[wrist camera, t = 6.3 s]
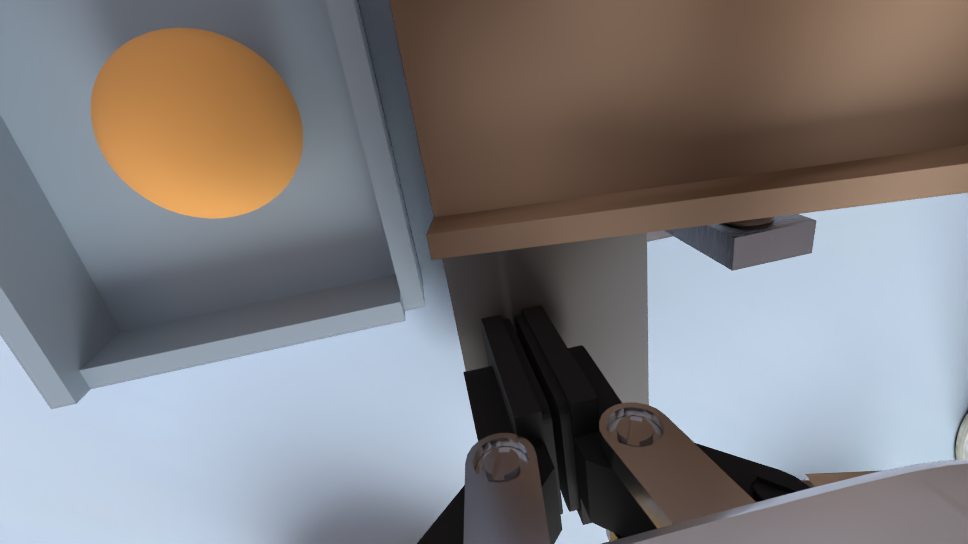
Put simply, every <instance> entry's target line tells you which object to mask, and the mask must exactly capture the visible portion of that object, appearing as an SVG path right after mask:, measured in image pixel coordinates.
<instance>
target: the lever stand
mask: <svg viewBox="0 0 968 544" xmlns="http://www.w3.org/2000/svg"><path fill="white" fill-rule="evenodd" d="M815 226H816V220H813V219H810V218H807V217H804V216H802V215H799V214H792V215H784V216H776V217H768V218H760V219H752V220H744V221H736V222H728V223H720V224H712V225H704V226H696V227H688V228H680V229H672V230H664V231H656V232H648V233H647V242H648V241H653V240H658V239H662V238H667V237H672V236H674V237H676V238H678V239H680V240H681V241H683V242H685V243H686V244H688V245H690V246H691V247H693V248H695V249H697V250H698V251H700V252H702V253H703V254H705V255H707V256H709V257H710V258H712V259H714V260H715V261H717V262H719V263H720V264H722V265H724V266H726V267H727V268H729V269H731V270H732V271H733V270H737V269H742V268H746V267H751V266H755V265H760V264H764V263H769V262H773V261H778V260H782V259H787V258H791V257H796V256H800V255H805V254H809V253H812V247H813V240H814V233H815Z"/></svg>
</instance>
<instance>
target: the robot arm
mask: <svg viewBox="0 0 968 544" xmlns="http://www.w3.org/2000/svg"><path fill="white" fill-rule="evenodd" d="M515 324H516V331H517V334H516V331H515V329H514V327H513V325H512V323H511V320H510V318H506V319H502V317H501V315H495V316H491V317H486V318H482V319H481V325H482V331H483V336H484V342H485V348H486V353H487V359H488V364H489V366H488V367H483V368H479V369H475V370H470V371H466V372H464V376H465V381H466V386H467V391H468V396H469V400H470V405H471V410H472V415H473V419H474V424H475V429H476V434H477V438H478V442H477V443H476V444H475V445H474V446H473V447H472V448H471V450H470V451H469V453H468V455H467V459H466V463H465V485H464V487H463V488H462V489H461V490H460V492H459V493H458V494H457V495H456V496H455V498H454V499H453V500H452V501H451V503H450V504H449V505H448V506H447V507H446V509H445V510H444V511H443V512H442V514H441V515H440V516H439V517H438V519H437V520H436V521H435V522H434V523H433V525H432V526H431V527H430V528H429V530H428V531H427V532H426V533H425V534H424V536H423V537H422V538H421V539H420V541H419V542H418V543H417V544H554V543H555V541H556V539H557V538H558V536H559V534H560V532H561V531H562V524H561V516H560V514H563V509H562V500H561V492H562V495H563V498H564V500H565V503H566V505H567V508H568V510H569V511H570V512H571V511H574V510H577V511H578V514H579V516H580V518H581V521H582V523H583V525H585V524H589V523H594V524H597V525H599V526H601V527H603V528H605V529H606V535H607V537H608V539H609V542H606V543H602V544H968V460H949V461H939V462H931V463H923V464H915V465H910V466H905V467H900V468H895V469H890V470H885V471H865V472H843V473H821V474H806V475H805V480H802V481H801V480H799V479H798V478H796V477H795V476H793V475H790V474H788V473H786V472H783V471H781V470H778V469H775V468H772V467H768V466H765V465H762V464H759V463H756V462H753V461H750V460H746V459H743V458H740V457H737V456H734V455H731V454H728V453H725V452H721V451H718V450H715V449H712V448H709V447H706V446H703V445H699V444H696V443H694V442H693V441H692V440H691V439H690V438H689V437H688V436H686V435H685V434H684V433H683V432H682V431H681V430H680V429H679V428H678V427H677V426H676V425H675V424H674V423H673V422H672V421H671V420H670V419H669V418H668V417H667V416H666V415H664V414H663V413H662V412H660V411H659V410H658V409H656V408H654V407H651V406H649V405H647V404H641V403H636V402H630V403H622V402H621V400H620V399H619V397H618V396H617V394H616V393H615V391H614V390H613V388H612V387H611V386H610V384H609V383H608V381H607V380H606V378H605V377H604V375H603V374H602V372H601V371H600V369H599V368H598V366H597V365H596V363H595V362H594V360H593V359H592V357H591V356H590V354H589V353H588V352H587V350H586V349H585V348H584V346H582V345H580V346H575V347H571V348H567V346H566V344H565V343H564V341H563V340H562V338H561V336H560V335H559V333H558V331H557V330H556V328H555V327H554V325H553V323H552V322H551V320H550V318H549V317H548V315H547V313H546V312H545V310H544V309H543V307H542V306H536V307H532V308H527V309H523V310H521V315H520V316H515ZM560 490H561V492H560Z"/></svg>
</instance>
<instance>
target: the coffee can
mask: <svg viewBox="0 0 968 544" xmlns="http://www.w3.org/2000/svg"><path fill="white" fill-rule="evenodd" d="M955 452H956V460H968V413H967V415H966V416H965V418H964V420H963V422H962V424H961V426H960V429H959V432H958V436H957V441H956V451H955Z"/></svg>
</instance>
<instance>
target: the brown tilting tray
mask: <svg viewBox="0 0 968 544" xmlns="http://www.w3.org/2000/svg"><path fill="white" fill-rule="evenodd" d="M389 2H390V7H391V12H392V17H393V22H394V26H395V31H396V36H397V41H398V46H399V51H400V55H401V60H402V65H403V70H404V75H405V79H406V84H407V89H408V94H409V99H410V104H411V108H412V113H413V118H414V123H415V128H416V133H417V137H418V142H419V147H420V152H421V157H422V161H423V166H424V171H425V176H426V181H427V186H428V190H429V195H430V200H431V205H432V210H433V215H434V219H433V221H432V223H431V225H430V227H429V230H428V232H427V234H426V236H427V241H428V245H429V250H430V254H431V259H432V260H433V259H441V258H443V263H444V268H445V272H446V277H447V282H448V287H449V292H450V297H451V301H452V306H453V311H454V316H455V321H456V325H457V330H458V335H459V340H460V345H461V350H462V354H463V359H464V364H465V369H466V371H470V370H475V369H479V368H483V367H488V366H489V364H488V359H487V353H486V348H485V342H484V336H483V331H482V325H481V319H482V318H486V317H491V316H495V315H501V317H502V319H506V318H510V320H511V323H512V325H513V327H514V329H515V331H516V324H515V316H520V315H521V310H523V309H527V308H532V307H536V306H542V307H543V309H544V310H545V312H546V313H547V315H548V317H549V318H550V320H551V322H552V323H553V325H554V327H555V328H556V330H557V331H558V333H559V335H560V336H561V338H562V340H563V341H564V343H565V344H566V346H567V348H571V347H575V346H580V345H582V346H584V348H585V349H586V350H587V352H588V353H589V354H590V356H591V357H592V359H593V360H594V362H595V363H596V365H597V366H598V368H599V369H600V371H601V372H602V374H603V375H604V377H605V378H606V380H607V381H608V383H609V384H610V386H611V387H612V388H613V390H614V391H615V393H616V394H617V396H618V397H619V399H620V400H621V402H622V403H630V402H636V403H641V404H647V405H649V399H648V308H647V233H648V232H656V231H664V230H672V229H680V228H688V227H696V226H704V225H712V224H720V223H728V222H736V221H744V220H752V219H760V218H768V217H776V216H784V215H792V214H800V213H808V212H816V211H824V210H832V209H840V208H848V207H856V206H864V205H871V204H879V203H887V202H895V201H903V200H911V199H919V198H927V197H935V196H943V195H951V194H959V193H967V192H968V0H389ZM516 334H517V331H516Z"/></svg>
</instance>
